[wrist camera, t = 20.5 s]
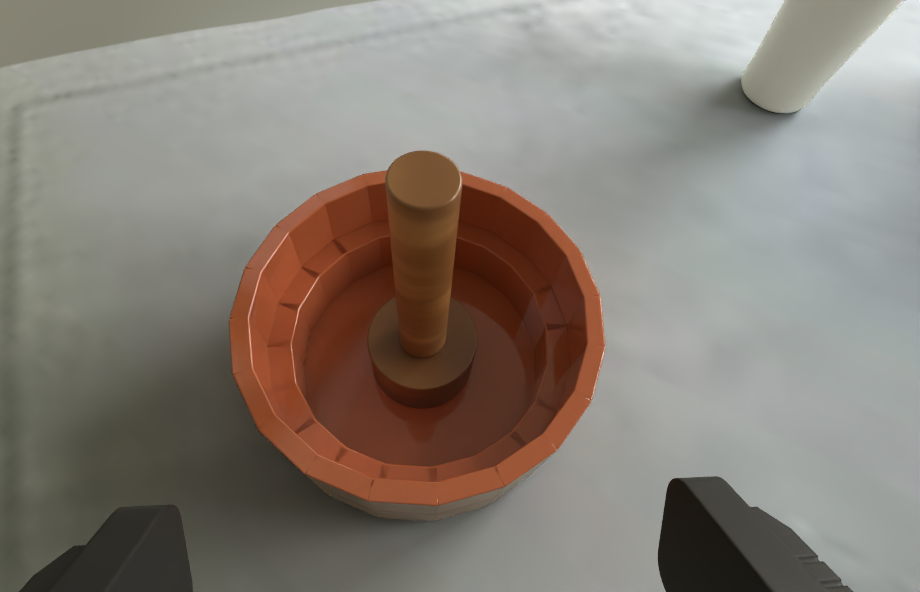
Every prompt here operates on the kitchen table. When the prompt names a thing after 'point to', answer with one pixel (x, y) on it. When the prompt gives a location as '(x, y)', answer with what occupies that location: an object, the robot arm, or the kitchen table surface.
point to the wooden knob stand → (422, 287)
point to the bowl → (350, 370)
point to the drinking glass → (809, 49)
